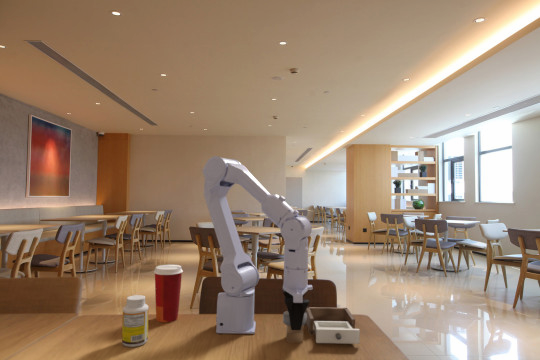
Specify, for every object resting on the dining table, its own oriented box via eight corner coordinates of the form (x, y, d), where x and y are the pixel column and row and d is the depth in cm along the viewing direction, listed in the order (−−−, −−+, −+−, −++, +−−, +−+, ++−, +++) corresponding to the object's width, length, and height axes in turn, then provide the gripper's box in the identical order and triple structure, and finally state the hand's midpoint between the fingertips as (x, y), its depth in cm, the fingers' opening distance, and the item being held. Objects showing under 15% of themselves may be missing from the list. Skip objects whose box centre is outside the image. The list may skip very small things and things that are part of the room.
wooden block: (287, 342, 87) (287, 324, 87) (286, 336, 90) (286, 319, 90) (302, 342, 87) (303, 325, 87) (301, 336, 90) (301, 319, 90)
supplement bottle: (133, 336, 88) (135, 292, 89) (152, 340, 86) (154, 295, 86) (115, 345, 83) (117, 298, 83) (135, 349, 81) (137, 302, 81)
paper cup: (185, 315, 104) (186, 264, 104) (175, 324, 96) (177, 270, 97) (158, 313, 105) (160, 263, 105) (146, 323, 97) (148, 269, 98)
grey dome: (283, 326, 86) (283, 317, 86) (282, 318, 91) (282, 309, 91) (307, 326, 86) (308, 317, 86) (305, 318, 91) (305, 310, 91)
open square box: (310, 335, 91) (310, 318, 91) (306, 322, 100) (306, 307, 101) (354, 335, 91) (355, 319, 92) (346, 322, 101) (346, 307, 101)
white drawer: (316, 344, 84) (317, 330, 84) (311, 328, 94) (311, 316, 94) (360, 344, 84) (360, 331, 84) (350, 328, 94) (350, 316, 94)
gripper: (316, 274, 82) (315, 336, 81) (309, 261, 96) (308, 315, 96) (284, 273, 82) (283, 336, 81) (281, 261, 96) (280, 314, 96)
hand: (294, 324), depth 89 cm, fingers closed on grey dome, 6 cm apart
